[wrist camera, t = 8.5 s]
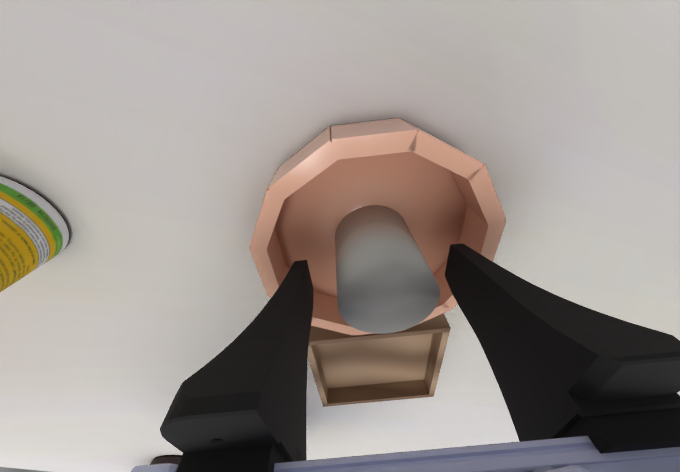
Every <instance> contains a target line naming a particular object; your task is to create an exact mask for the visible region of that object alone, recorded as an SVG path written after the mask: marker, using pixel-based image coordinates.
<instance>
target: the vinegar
mask: <svg viewBox="0 0 680 472" xmlns="http://www.w3.org/2000/svg"><path fill="white" fill-rule="evenodd" d="M181 458H182V457H181V456H164V457H159V458H156V459H154V460H153V461H152V462H151V464H150V465H154V464H165V463H171V464H177V465H179V463H180V461H181Z"/></svg>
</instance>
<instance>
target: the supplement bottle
mask: <svg viewBox="0 0 680 472" xmlns="http://www.w3.org/2000/svg"><path fill="white" fill-rule="evenodd" d="M68 240H69V232H68V228H67V225H66V223H65V221H64V220H63V218H62V217H61V215H60V214H59V213H58V212H57V211H56V209H55V208H54V207H53V206H52V205H50V204H49V203H48V202H47V201H46V200H44V199H43V198H42V197H41V196H39V195H38V194H36V193H35V192H33V191H32V190H30V189H28V188H26V187H25V186H23V185H21V184H19V183H17V182H14V181H12V180H9V179H7V178H4V177H1V176H0V292H1V291H3V290H4V289H6V288H7V287H9V286H10V285H12V284H13V283H15V282H17V281H18V280H20V279H21V278H23V277H24V276H26V275H27V274H29V273H30V272H32V271H33V270H35V269H36V268H38V267H39V266H41V265H42V264H44V263H45V262H47V261H49V260H50V259H52V258H53V257H54V256H56V255H57V254H59V253H60V252H61V251H62V250H63V249H64V248H65V247H66V245H67V243H68Z"/></svg>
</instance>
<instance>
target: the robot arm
mask: <svg viewBox="0 0 680 472" xmlns="http://www.w3.org/2000/svg"><path fill="white" fill-rule="evenodd" d="M445 278H446V280H447V283H448V285H449V288H450V290H451V292H452V294H453V296H454V298H455V299H456V301H457V303H458V305H459V306H460V308H461V310H462V312H463V313H464V315H465V317H466V318H467V320H468V322H469V323H470V325H471V327H472V328H473V330H474V332H475V334H476V336H477V338H478V339H479V341H480V343H481V346H482V348H483V350H484V352H485V354H486V357H487V359H488V361H489V363H490V366H491V368H492V370H493V373H494V375H495V377H496V380H497V382H498V384H499V387H500V389H501V392H502V394H503V397H504V400H505V402H506V405H507V407H508V410H509V413H510V415H511V418H512V421H513V424H514V426H515V429H516V432H517V435H518V438H519V441H520V442H511V443H500V444H488V445H477V446H466V447H454V448H443V449H432V450H420V451H409V452H398V453H386V454H375V455H364V456H352V457H341V458H330V459H318V460H307V461H306V388H307V356H308V346H309V338H310V330H311V322H312V314H313V284H312V280H311V276H310V271H309V267H308V262H307V260H300V261H295V262H294V263H293V264H292V266H291V268H290V270H289V271H288V273H287V275H286V276H285V278H284V280H283V281H282V283H281V284H280V286H279V287H278V289H277V290H276V292H275V293H274V295H273V296H272V298H271V299H270V300H269V302H268V303H267V304H266V306H265V307H264V308H263V309H262V311H261V312H260V313H259V314H258V316H257V317H256V318H255V319H254V320H253V321H252V322H251V324H250V325H249V326H248V327H247V328H246V329H245V330H244V331H243V332H242V333H241V334H240V335H239V336H238V337H237V338H236V339H235V340H234V341H233V342H232V343H231V344H230V345H229V346H227V347H226V348H225V349H224V350H223V351H222V352H221V353H220V354H218V355H217V356H216V357H215V358H214V359H212V360H211V361H210V362H209V363H208V364H206V365H205V366H204V367H202V368H201V369H200V370H199V371H197V372H196V373H195V374H193V375H192V376H191V377H189V378H188V379H187V380H185V381H184V382H183V383H182V385H181V386H180V388H179V390H178V392H177V394H176V396H175V398H174V400H173V402H172V404H171V406H170V408H169V411H168V413H167V415H166V417H165V419H164V421H163V423H162V425H161V428H160V431H161V434H162V436H163V437H164V438H165V439H166V440H167V441H168V442H169V443H171V444H172V445H173V446H175V447H176V448H178V449H179V450H180V451H182V452H183V455H182V458H181V461H180V463H179V465H177V464H171V463H165V464H154V465H143V466H136V467H134V468H133V469H132V471H131V472H680V396H679V395H678V394H677V392H678V391H680V341H679V340H678V339H677V338H675V337H674V336H672V335H669V334H666V333H663V332H659V331H656V330H652V329H649V328H646V327H642V326H639V325H636V324H632V323H629V322H626V321H623V320H620V319H617V318H614V317H611V316H608V315H605V314H602V313H599V312H597V311H594V310H591V309H589V308H586V307H583V306H581V305H578V304H576V303H573V302H571V301H568V300H566V299H563V298H561V297H559V296H557V295H554V294H552V293H550V292H548V291H546V290H544V289H541V288H539V287H537V286H535V285H533V284H531V283H529V282H527V281H525V280H524V279H522V278H520V277H518V276H516V275H514V274H512V273H511V272H509V271H507V270H506V269H504V268H502V267H500V266H499V265H497V264H495V263H494V262H492V261H491V260H489V259H487V258H486V257H484V256H483V255H481V254H479V253H478V252H476V251H475V250H473V249H471V248H470V247H468V246H466V245H465V244H463V243H462V244H452V245H450V248H449V254H448V259H447V264H446V270H445Z"/></svg>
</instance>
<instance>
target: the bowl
mask: <svg viewBox="0 0 680 472" xmlns="http://www.w3.org/2000/svg"><path fill="white" fill-rule="evenodd" d="M369 205H381V206H386V207H389V208H391V209H393V210H395V211H396V212H398V213H399V214H400V215H401V216H402V217H403V219H404V221H405V222H406V224H407V226H408V228H409V230H410V232H411V234H412V236H413V237H414V239H415V241H416V243H417V245H418V247H419V249H420V251H421V252H422V254H423V256H424V258H425V260H426V262H427V264H428V266H429V268H430V269H431V271H432V273H433V275H434V277H435V279H436V281H437V283H438V285H439V288H440V298H439V301H438V304H437V306H436V308H435V309H434V311H433V312H432V313H431V314H430V315H429V316H428V317H427V318H426V319H424V320H423V321H422V322H424V321H427V320H429V319H431V318H434V317H436V316H438V315H440V314H443V313H445V312H447V311H450V309H452V308H454V307H455V306H456V305H457V304H458V303H457V301H456V299H455V298H454V296H453V294H452V292H451V290H450V288H449V285H448V283H447V280H446V278H445V270H446V264H447V259H448V254H449V248H450V245H452V244H462V243H463V244H465V245H466V246H468V247H470V248H471V249H473V250H475V251H476V252H478V253H479V254H481V255H483V256H484V257H486V258H487V259H489V260H491V261H492V262H493V260H494V257H495V254H496V251H497V247H498V244H499V241H500V238H501V235H502V232H503V229H504V226H505V223H506V221H505V220H506V218H505V216H504V213H503V210H502V208H501V205H500V203H499V200H498V197H497V195H496V192H495V189H494V187H493V184H492V181H491V179H490V176H489V173H488V171H487V168H486V165H484V164H483V163H482V162H480V161H478V160H476V159H475V158H473V157H471V156H469V155H467V154H466V153H464V152H462V151H460V150H459V149H457V148H455V147H453V146H451V145H450V144H448V143H446V142H444V141H442V140H440V139H438V138H436V137H434V136H432V135H431V134H429V133H427V132H425V131H423V130H421V129H419V128H417V127H415V126H414V125H412V124H410V123H408V122H406V121H404V120H402V119H399V118H394V119H385V120H377V121H368V122H360V123H351V124H342V125H334V126H331V128H330V127H328V128H327V129H326V130H324V131H323V132H322V133H321V134H319V135H318V136H317V137H316V138H314V139H313V140H312V141H311V142H309V143H308V144H307V145H306V146H304V147H303V148H302V149H301V150H299V151H298V152H297V153H296V154H294V155H293V156H292V157H291V158H289V159H288V160H287V161H286V162H284V163H283V164H282V165H281V166H280V167H279V168H278V170H277V172H276V174H275V176H274V177H273V179H272V181H271V183H270V185H269V187H268V189H267V191H266V195H265V198H264V201H263V204H262V208H261V211H260V214H259V218H258V221H257V224H256V227H255V231H254V234H253V237H252V241H251V244H250V251H251V254H252V256H253V259H254V261H255V264H256V267H257V269H258V272H259V274H260V277H261V280H262V282H263V285H264V287H265V290H266V293H267V295H268V296H269V297H271V298H272V296H273V295H274V293H275V292H276V290H277V289H278V287H279V286H280V284H281V283H282V281H283V280H284V278H285V276H286V275H287V273H288V271H289V270H290V268H291V266H292V264H293V263H294V262H295V261H300V260H307V262H308V267H309V271H310V276H311V280H312V284H313V314H312V322H311V326H315V327H320V328H324V329H328V330H332V331H336V332H340V333H344V334H349V335H354V336H355V335H365V334H375V333H368V332H364V331H360V330H358V329H355V328H353V327H352V326H350V325H349V324H347V323H346V322H345V321H344V320H343V318H342V317H341V315H340V313H339V310H338V302H337V279H336V255H335V233H336V229H337V227H338V225H339V223H340V222H341V221H342V219H343V218H344V217H345V216H346V215H348V214H349V213H350V212H352V211H354V210H356V209H358V208H360V207H364V206H369ZM422 322H420V323H422ZM420 323H419V324H420ZM417 325H418V324H417ZM408 329H409V328H408Z"/></svg>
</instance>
